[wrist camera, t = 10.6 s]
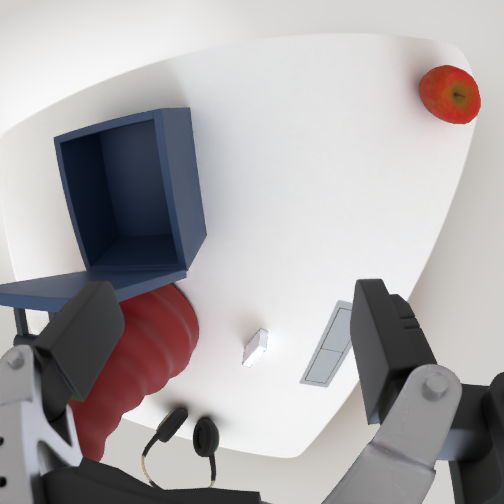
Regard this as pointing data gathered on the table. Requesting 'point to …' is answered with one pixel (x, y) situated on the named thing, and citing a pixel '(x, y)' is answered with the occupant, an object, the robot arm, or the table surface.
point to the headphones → (202, 438)
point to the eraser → (255, 348)
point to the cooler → (134, 191)
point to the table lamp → (136, 363)
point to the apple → (450, 94)
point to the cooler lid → (75, 292)
